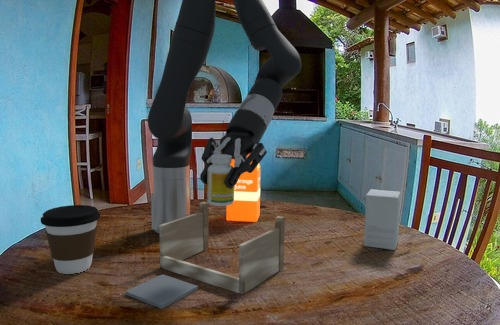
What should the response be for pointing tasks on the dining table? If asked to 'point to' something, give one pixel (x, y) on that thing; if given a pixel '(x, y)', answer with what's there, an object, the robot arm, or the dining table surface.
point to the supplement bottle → (219, 181)
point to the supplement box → (382, 219)
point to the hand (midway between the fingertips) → (215, 183)
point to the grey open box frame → (196, 240)
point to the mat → (161, 291)
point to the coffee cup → (71, 236)
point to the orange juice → (245, 197)
